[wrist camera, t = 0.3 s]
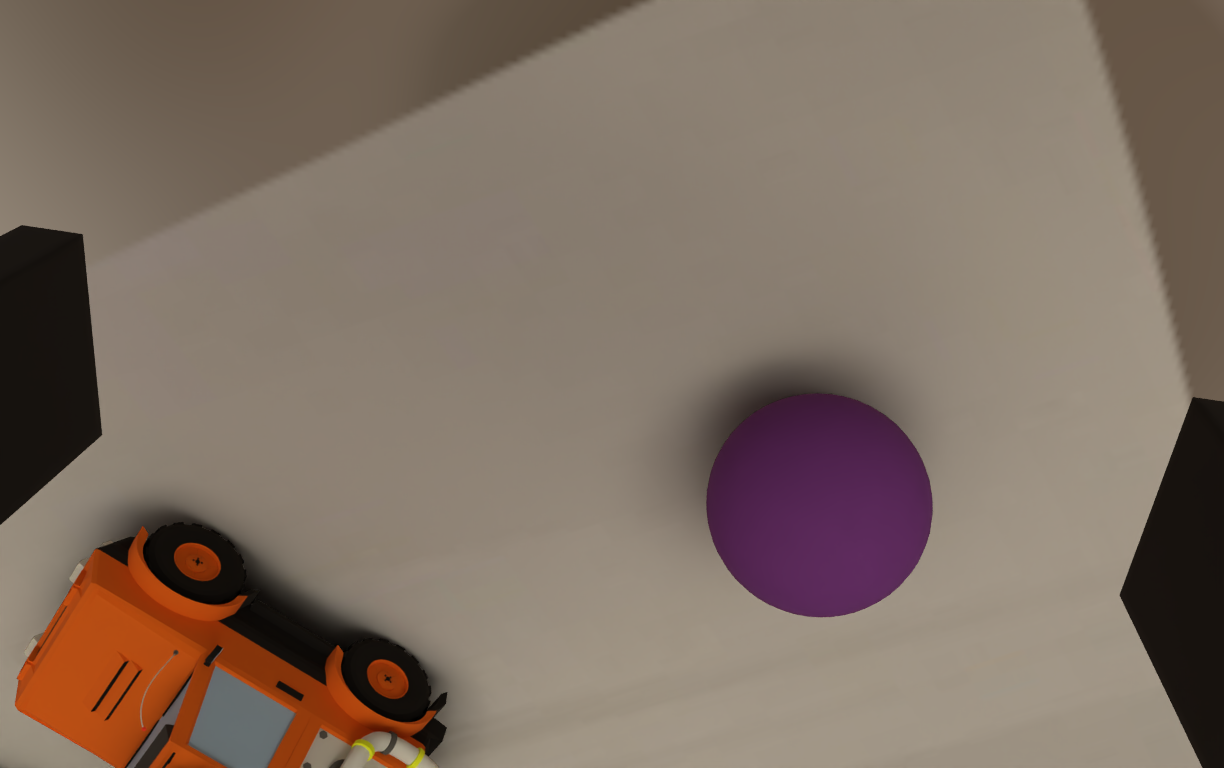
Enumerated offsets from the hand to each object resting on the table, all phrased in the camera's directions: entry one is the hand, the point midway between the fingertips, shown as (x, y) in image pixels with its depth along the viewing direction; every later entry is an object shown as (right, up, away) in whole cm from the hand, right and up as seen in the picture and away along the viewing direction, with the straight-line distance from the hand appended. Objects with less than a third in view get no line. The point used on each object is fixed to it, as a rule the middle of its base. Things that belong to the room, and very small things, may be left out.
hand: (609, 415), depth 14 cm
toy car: (-9, -8, +19) cm, 23 cm away
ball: (+5, -2, +12) cm, 13 cm away
